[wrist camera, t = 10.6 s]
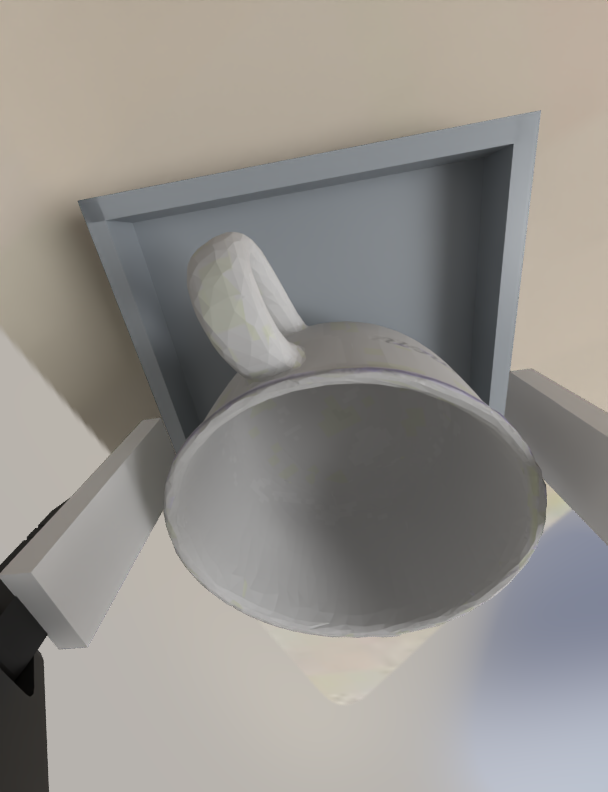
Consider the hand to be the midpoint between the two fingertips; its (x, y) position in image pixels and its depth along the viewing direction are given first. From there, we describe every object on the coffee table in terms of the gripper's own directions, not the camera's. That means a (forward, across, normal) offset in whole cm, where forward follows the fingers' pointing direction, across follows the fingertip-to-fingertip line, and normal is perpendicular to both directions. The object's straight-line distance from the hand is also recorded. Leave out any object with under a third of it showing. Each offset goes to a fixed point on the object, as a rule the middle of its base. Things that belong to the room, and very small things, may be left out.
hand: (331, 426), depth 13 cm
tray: (+4, 0, 0) cm, 4 cm away
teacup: (+4, 0, 0) cm, 4 cm away
